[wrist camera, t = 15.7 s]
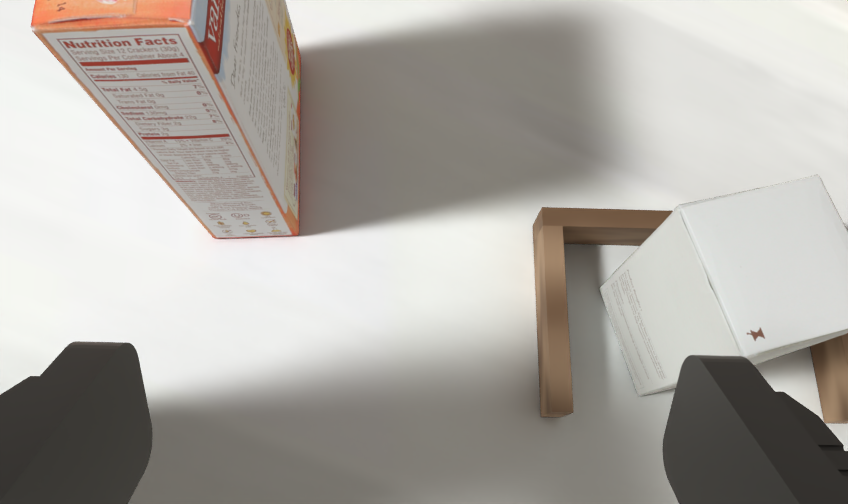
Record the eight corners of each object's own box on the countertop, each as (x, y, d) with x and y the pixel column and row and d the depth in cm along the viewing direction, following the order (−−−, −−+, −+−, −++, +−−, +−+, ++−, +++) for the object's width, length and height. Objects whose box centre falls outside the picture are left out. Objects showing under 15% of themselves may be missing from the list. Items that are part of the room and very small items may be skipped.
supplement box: (748, 369, 39) (900, 322, 27) (635, 398, 38) (740, 363, 26) (702, 259, 41) (823, 170, 29) (595, 284, 40) (674, 203, 28)
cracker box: (219, 60, 45) (73, -262, 25) (304, 58, 45) (224, -263, 26) (206, 243, 40) (14, 23, 21) (300, 240, 41) (200, 18, 21)
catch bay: (844, 423, 38) (879, 419, 35) (540, 416, 37) (551, 412, 34) (806, 233, 42) (835, 215, 39) (532, 225, 41) (542, 207, 39)
